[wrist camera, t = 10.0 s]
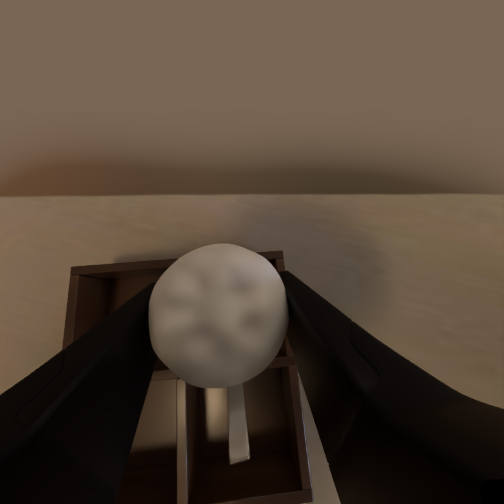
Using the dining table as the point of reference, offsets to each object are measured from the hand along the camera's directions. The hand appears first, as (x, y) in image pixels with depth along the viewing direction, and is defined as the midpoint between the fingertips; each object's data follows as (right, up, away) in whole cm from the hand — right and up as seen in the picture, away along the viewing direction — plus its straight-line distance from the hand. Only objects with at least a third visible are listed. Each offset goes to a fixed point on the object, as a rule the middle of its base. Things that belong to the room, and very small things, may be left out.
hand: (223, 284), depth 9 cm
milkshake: (0, -3, +6) cm, 7 cm away
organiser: (-3, -7, +9) cm, 12 cm away
